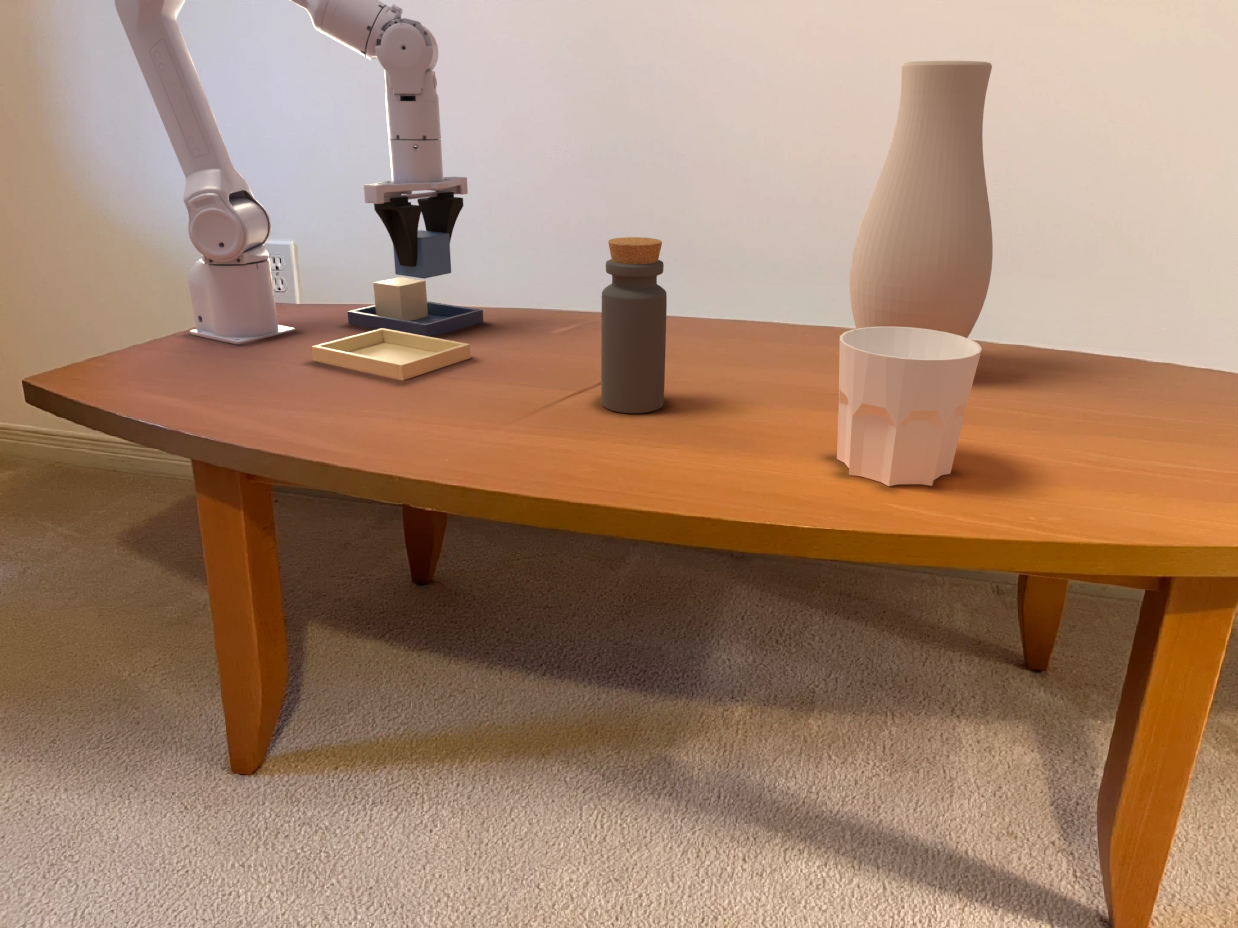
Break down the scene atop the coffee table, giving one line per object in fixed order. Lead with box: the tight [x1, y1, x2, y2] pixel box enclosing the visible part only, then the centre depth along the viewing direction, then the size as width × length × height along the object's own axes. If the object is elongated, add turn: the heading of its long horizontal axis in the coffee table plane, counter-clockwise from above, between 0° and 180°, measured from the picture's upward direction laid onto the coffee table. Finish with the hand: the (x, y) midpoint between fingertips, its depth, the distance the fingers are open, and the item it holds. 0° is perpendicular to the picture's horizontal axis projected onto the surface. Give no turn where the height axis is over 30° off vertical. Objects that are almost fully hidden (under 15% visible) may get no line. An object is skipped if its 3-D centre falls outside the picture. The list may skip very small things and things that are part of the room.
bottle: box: [600, 236, 668, 414], centre depth 81 cm, size 6×6×15 cm
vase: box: [849, 60, 994, 339], centre depth 91 cm, size 14×14×30 cm
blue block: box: [392, 229, 452, 280], centre depth 105 cm, size 5×5×5 cm
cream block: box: [372, 276, 428, 321], centre depth 114 cm, size 5×5×5 cm
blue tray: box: [347, 300, 484, 337], centre depth 112 cm, size 13×10×2 cm
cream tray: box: [311, 328, 471, 381], centre depth 96 cm, size 13×10×2 cm
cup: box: [836, 327, 983, 487], centre depth 68 cm, size 10×10×10 cm
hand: (423, 262), depth 105 cm, fingers closed on blue block, 4 cm apart
